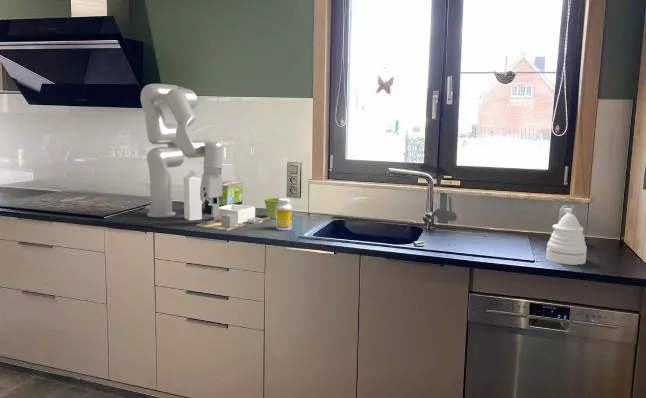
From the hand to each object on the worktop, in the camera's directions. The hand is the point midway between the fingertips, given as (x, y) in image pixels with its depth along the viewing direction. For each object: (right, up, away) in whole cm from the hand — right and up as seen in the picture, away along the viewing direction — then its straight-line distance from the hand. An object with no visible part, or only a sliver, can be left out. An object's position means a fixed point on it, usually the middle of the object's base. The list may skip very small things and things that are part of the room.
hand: (211, 212), depth 235 cm
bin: (+8, -4, +12) cm, 15 cm away
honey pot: (+134, -16, -42) cm, 141 cm away
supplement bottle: (+31, -7, -4) cm, 32 cm away
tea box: (+1, -1, +31) cm, 31 cm away
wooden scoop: (+19, -5, +9) cm, 22 cm away
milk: (-11, -4, +12) cm, 17 cm away
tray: (+4, -6, -2) cm, 7 cm away
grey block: (0, -1, 0) cm, 1 cm away
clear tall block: (+145, -12, -16) cm, 146 cm away
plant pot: (+25, -3, +21) cm, 33 cm away
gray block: (+8, -6, -3) cm, 10 cm away
